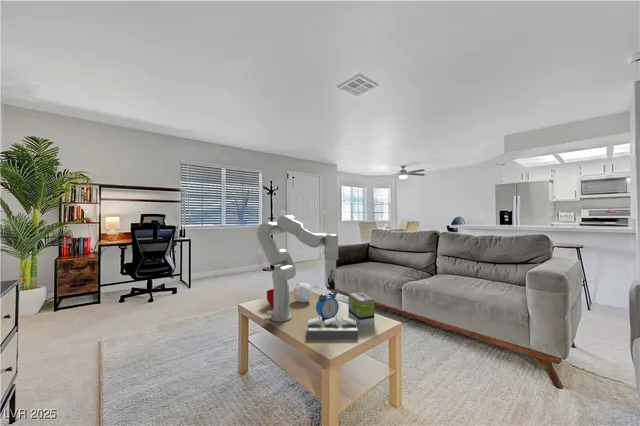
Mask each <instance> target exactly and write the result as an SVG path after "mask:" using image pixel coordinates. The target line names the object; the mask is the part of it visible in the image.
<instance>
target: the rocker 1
mask: <svg viewBox="0 0 640 426" xmlns="http://www.w3.org/2000/svg"><path fill="white" fill-rule="evenodd" d="M322 321H323V317H321V316H318V317H315V318H311V319H308V321H307V326H308V325H312V324H315V323H319V322H322Z"/></svg>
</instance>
